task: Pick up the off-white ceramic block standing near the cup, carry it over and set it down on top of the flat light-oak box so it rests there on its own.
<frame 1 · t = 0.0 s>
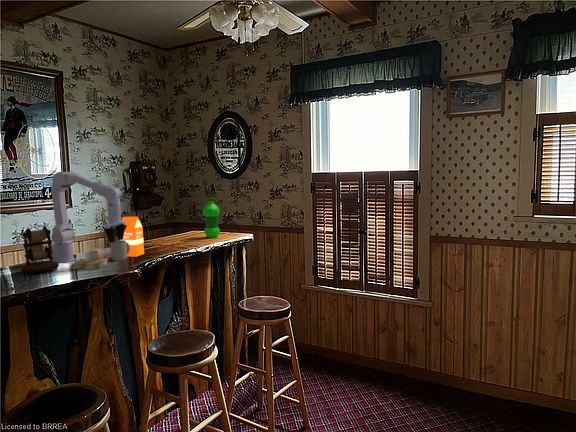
hand: (116, 241, 205), 10 cm above the table, tool pointing down, fingers open, 7 cm apart
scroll: (40, 271, 191), on the table
ceramic block: (97, 260, 211), on the table
orange juice: (132, 255, 222), on the table
cup: (121, 259, 214), on the table
plastic bottle: (212, 237, 272), on the table
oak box: (90, 267, 198), on the table
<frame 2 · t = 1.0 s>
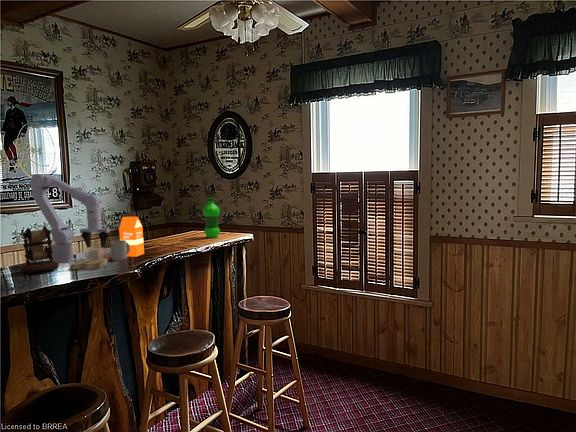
hand: (96, 247, 211), 6 cm above the table, tool pointing down, fingers open, 7 cm apart
nothing on the table moved.
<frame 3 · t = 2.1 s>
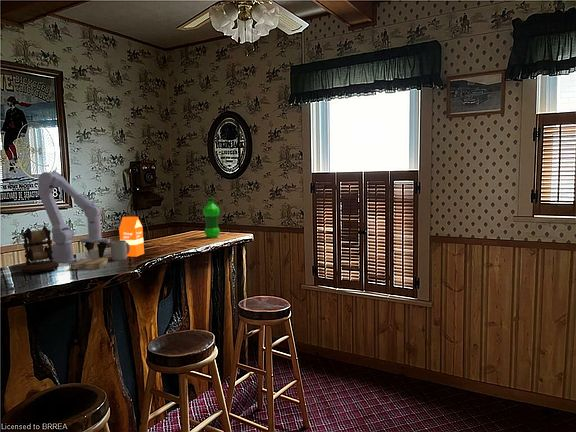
hand: (96, 257, 211), 1 cm above the table, tool pointing down, fingers closed on ceramic block, 4 cm apart
ceramic block: (96, 260, 211), on the table, touching gripper
everything else where it was.
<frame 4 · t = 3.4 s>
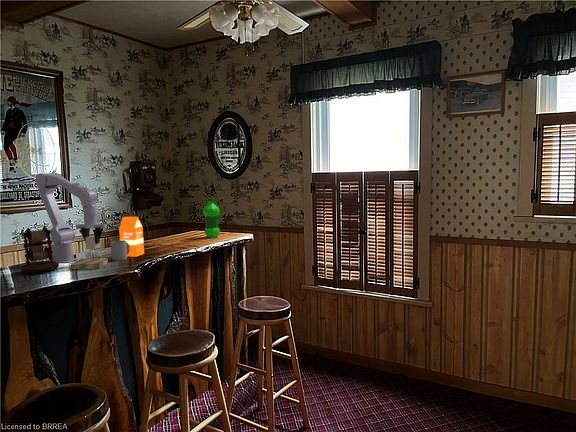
hand: (92, 243, 204), 9 cm above the table, tool pointing down, fingers closed on ceramic block, 4 cm apart
ceramic block: (93, 248, 204), point 7 cm above the table, touching gripper
everything else where it was.
when the fingers open (5 cm above the table, at t = 5.0 s): ceramic block stays where it is, point 2 cm above the table.
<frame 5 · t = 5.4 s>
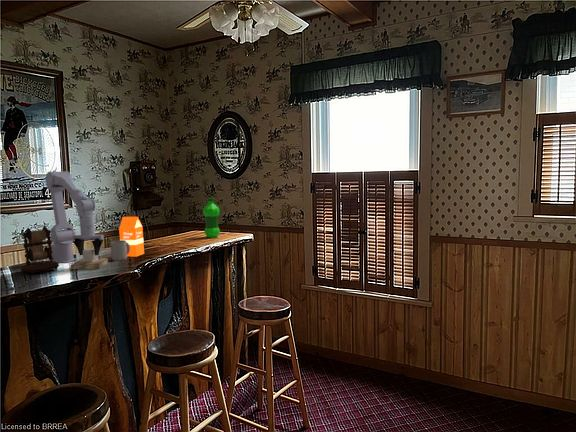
hand: (89, 254, 197), 5 cm above the table, tool pointing down, fingers open, 7 cm apart
ceramic block: (90, 261, 198), point 2 cm above the table
everything else where it was.
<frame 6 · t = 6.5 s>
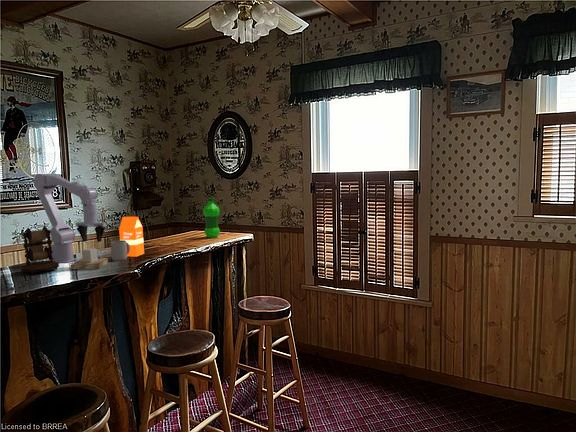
hand: (92, 241, 205), 10 cm above the table, tool pointing down, fingers open, 7 cm apart
ceramic block: (90, 261, 198), point 2 cm above the table, touching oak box
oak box: (90, 267, 198), on the table, touching ceramic block
everything else where it was.
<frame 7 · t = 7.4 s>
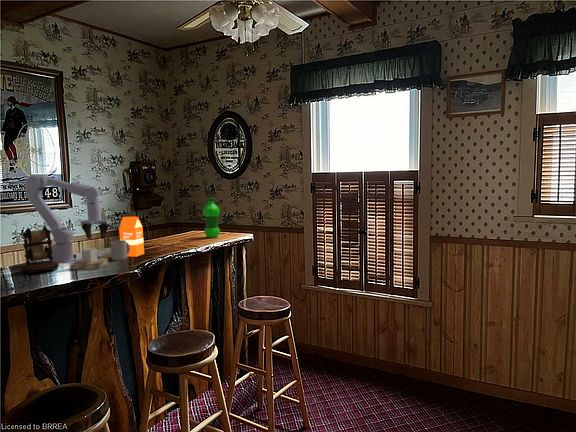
hand: (96, 238, 212), 10 cm above the table, tool pointing down, fingers open, 7 cm apart
nothing on the table moved.
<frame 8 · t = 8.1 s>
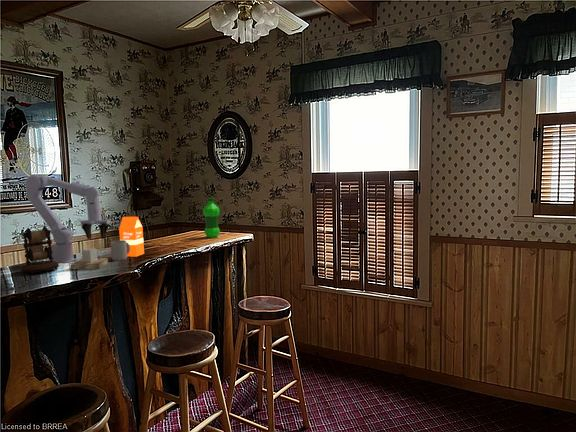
hand: (96, 238, 212), 10 cm above the table, tool pointing down, fingers open, 7 cm apart
nothing on the table moved.
at the end: ceramic block inside the target area on the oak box (0.4 cm from its centre), point 3.0 cm above the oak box's base; ceramic block tilted 1°; the gripper is holding nothing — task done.
